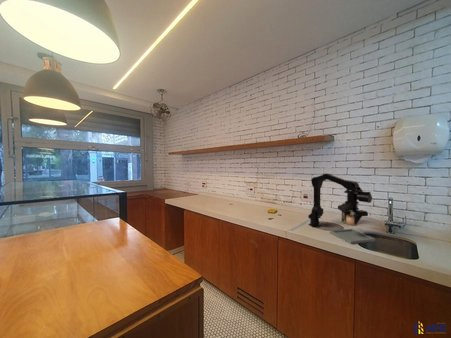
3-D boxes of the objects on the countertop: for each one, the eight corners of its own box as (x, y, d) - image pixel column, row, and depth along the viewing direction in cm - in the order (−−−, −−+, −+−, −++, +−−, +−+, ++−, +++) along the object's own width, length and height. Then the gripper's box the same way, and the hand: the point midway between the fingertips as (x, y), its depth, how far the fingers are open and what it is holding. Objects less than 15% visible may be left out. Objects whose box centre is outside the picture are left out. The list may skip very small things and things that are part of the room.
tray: (330, 233, 132) (330, 230, 132) (351, 231, 135) (351, 228, 135) (351, 244, 115) (351, 241, 114) (375, 241, 118) (375, 238, 118)
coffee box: (341, 222, 155) (341, 203, 155) (344, 221, 159) (344, 202, 158) (353, 225, 148) (353, 205, 147) (356, 223, 151) (357, 204, 151)
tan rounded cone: (344, 223, 127) (344, 214, 127) (351, 222, 128) (351, 214, 128) (351, 226, 121) (351, 217, 121) (359, 225, 122) (359, 216, 122)
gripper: (331, 197, 132) (331, 219, 132) (353, 203, 113) (353, 228, 114) (344, 197, 134) (344, 218, 134) (368, 202, 115) (368, 227, 116)
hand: (351, 222), depth 125 cm, fingers closed on tan rounded cone, 6 cm apart
